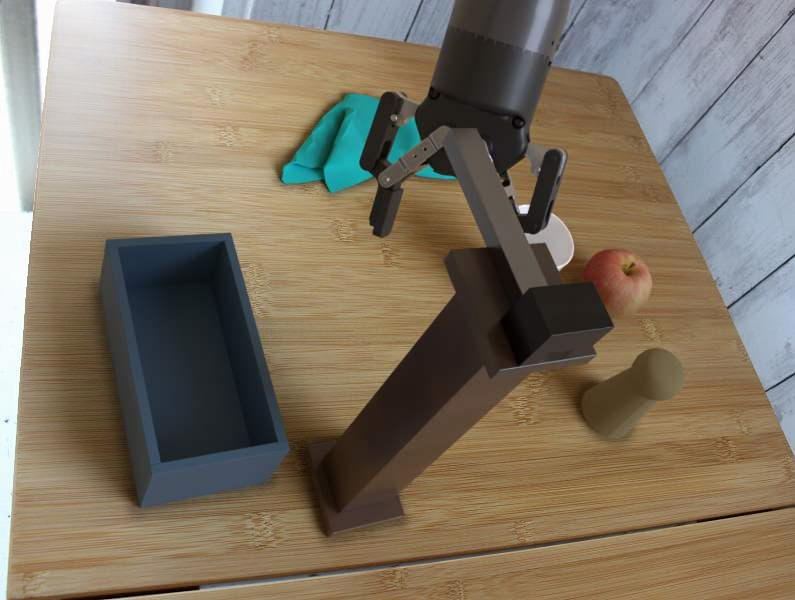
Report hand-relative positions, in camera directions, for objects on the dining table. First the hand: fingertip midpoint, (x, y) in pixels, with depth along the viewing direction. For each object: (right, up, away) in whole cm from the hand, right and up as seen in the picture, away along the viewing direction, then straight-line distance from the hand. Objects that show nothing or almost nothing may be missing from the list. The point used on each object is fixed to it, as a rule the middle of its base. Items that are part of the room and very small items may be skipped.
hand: (431, 256), depth 62 cm
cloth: (-5, +15, +35) cm, 39 cm away
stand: (-7, -20, +12) cm, 24 cm away
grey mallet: (+4, 0, -11) cm, 12 cm away
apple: (+21, -3, +35) cm, 41 cm away
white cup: (+8, -2, +30) cm, 32 cm away
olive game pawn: (+20, -15, +27) cm, 37 cm away
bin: (-21, -11, +11) cm, 26 cm away
